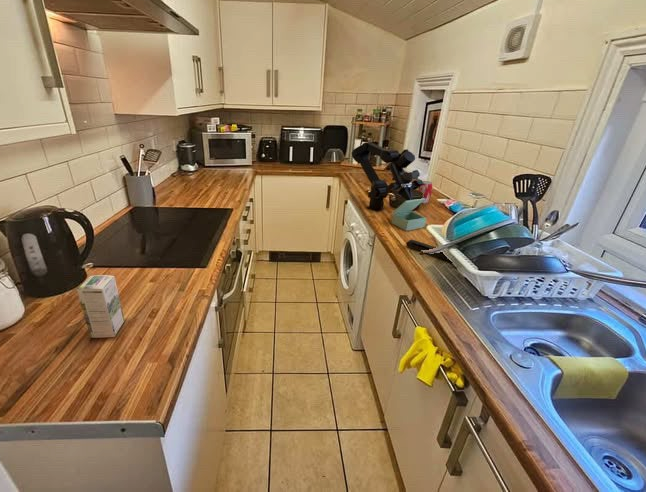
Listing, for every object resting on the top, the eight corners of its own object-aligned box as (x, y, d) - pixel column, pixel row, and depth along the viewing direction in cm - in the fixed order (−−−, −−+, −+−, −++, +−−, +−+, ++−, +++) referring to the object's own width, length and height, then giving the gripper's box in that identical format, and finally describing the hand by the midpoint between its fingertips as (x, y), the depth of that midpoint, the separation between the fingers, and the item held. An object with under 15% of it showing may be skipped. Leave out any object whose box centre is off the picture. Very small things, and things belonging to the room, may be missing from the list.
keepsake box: (424, 227, 141) (426, 217, 139) (405, 231, 136) (407, 221, 134) (409, 219, 149) (411, 210, 147) (391, 223, 144) (392, 213, 142)
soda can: (430, 204, 170) (434, 184, 166) (417, 203, 172) (421, 183, 167) (427, 200, 177) (432, 181, 172) (415, 199, 178) (419, 180, 173)
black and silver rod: (405, 246, 122) (406, 240, 121) (408, 244, 124) (409, 238, 123) (452, 263, 111) (453, 256, 110) (454, 260, 113) (456, 253, 112)
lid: (425, 199, 138) (424, 197, 138) (406, 202, 134) (405, 200, 134) (411, 210, 147) (411, 209, 147) (393, 213, 142) (392, 212, 142)
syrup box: (102, 322, 78) (88, 274, 72) (126, 321, 78) (114, 274, 73) (90, 338, 73) (74, 289, 67) (115, 337, 73) (102, 288, 67)
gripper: (393, 165, 133) (407, 196, 128) (424, 162, 140) (438, 192, 135) (379, 178, 142) (391, 207, 137) (409, 175, 150) (421, 203, 145)
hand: (411, 202), depth 138 cm, fingers closed
